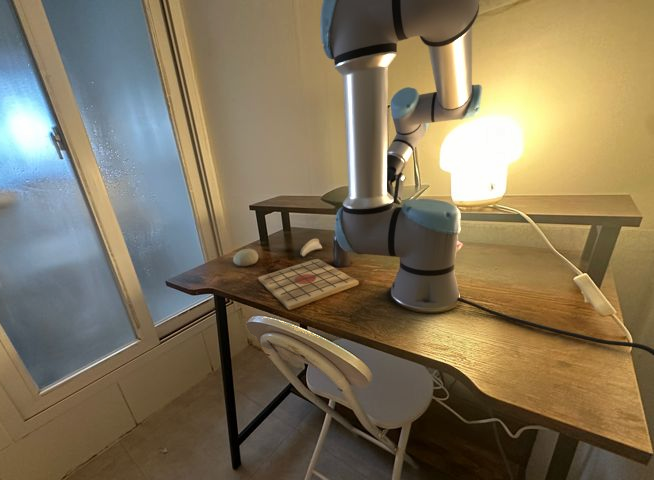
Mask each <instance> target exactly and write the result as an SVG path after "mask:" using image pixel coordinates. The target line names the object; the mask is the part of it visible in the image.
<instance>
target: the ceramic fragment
mask: <svg viewBox="0 0 654 480" xmlns="http://www.w3.org/2000/svg"><path fill="white" fill-rule="evenodd" d="M314 251H323V246H322V245H321V243H320V240H319V239H318V238H312V239H310V240H309V241H308V242H306V243H305V244H304V245H303V246H302V247H301V249H300V252H299V254H300V255H301V256H302V258H305V257H306V256H307V255H308V254H309V253H312V252H314Z"/></svg>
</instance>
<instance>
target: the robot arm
mask: <svg viewBox="0 0 654 480" xmlns="http://www.w3.org/2000/svg"><path fill="white" fill-rule="evenodd" d="M479 11H480V0H322V5H321V9H320V19H319V20H320V24H319V27H320V40H321V43H322V45H323V52H324V54H325V55H326V57H327V58H328V59H330V60H333V61H334V69H335V70H336V71H337V72H338V73H339V74H340V75H341V76H342V84H343V104H344V106H343V107H344V127H345V148H346V163H347V164H346V166H347V168H346V169H347V188H348V195H347V197H346V198H345V199H344V200H343V201H342V206H341V207H340V208H339V209H338V210H337V212H336V216H335V222H334V232H335V233H336V238H337V241H338V243H339V245H340V247H341V248H342V249H344V250H345V251H347V252H350V253H353V254H356V255H370V256H383V257H395V258H399V267H398V270H397V273H396V275H395V278H394V280H393V283H392V284H391V289H390V298H391V300H392V301H393V302H394V303H395V304H396V305H397V306H399V307H401V308H403V309H405V310H409V311H412V312H417V313H423V314H439V313H443V312H444V313H445V312H447V311H450V310H453V309H454V308H456V307H457V306H458V305H459V302H461V303H464V304H466V305H469V306H471V307H474V308H476V309H478V310H480V311H483V312H486V313H488V314H491V315H494V316H497V317H499V318H502V319H505V320H509V321H512V322H516V323H519V324H523V325H526V326H530V327H535V328H536V329H537V328H538V329H542V330H545V331H548V332H553V333H556V334H559V335H564V336H568V337H572V338H577V339H580V340H585V341H588V342H594V343H598V344H603V345H608V346H618V347H628V348H635V349H640V350H643V351H646V352H648V353H650V354H651V355H652V356H654V348H652V347H650V346H648V345H645V344H641V343H638V342H629V341H619V340H609V339H603V338H598V337H595V336H589V335H585V334H581V333H580V334H579V333H576V332H572V331H569V330H564V329H559V328H557V327H556V328H555V327H551V326H547V325H544V324H539V323H535V322H532V321H528V320H526V319H522V318H517V317H515V316H511V315H508V314H505V313H502V312H498V311H495V310H493V309H490V308H487V307H485V306H483V305H480V304H477V303H475V302H473V301H470V300H468V299H464V298H462V297H461V294H460V288H459V285H458V280H457V277H456V273H455V266H456V259H457V258H456V257H457V252H458V251H457V243H458V241H459V234H460V232H461V229H462V228H461V218H462V217H461V216H462V215H461V211H460V209H459V208H458V206H456V205H455V204H452V203H451V202H448V201H444V200H441V199H431V198H417V199H416V198H411V199H407V200H404V202H402V201H401V200H403V199H402V198H403V191H404V183H405V181H406V180H407V177H406V176H405V174H404V173H403V171H404V169H405V167H406V165H407V164H408V162H409V161H410V159H411V157H412V156H413V154H414V153H415V150H416V149H415V147H416V148H418V146H419V144H420V142H421V140H423V138H424V137H425V134H426V133H427V130H428V128H429V125H430V124H433V123H439V122H449V121H455V120H456V121H457V120H464V119H468V118H474V117H476V116H478V114H479V111H480V108H481V100H482V93H483V86H482V85H481V84H473V26H474V24H475V23H476V21H477V18H478V15H479ZM414 37H419V38H420V40H421V42H422V43H423V44H424V45H425V46H427V49H428V53H429V60H430V64H431V68H432V74H433V80H434V85H435V91H433V92H427V93H422V94H420V93H419V92H418V90H417V89H416V88H415V87H410V86H406V87H403V88H401V89H399V90H397V92H395V93H394V95H393V96H392V98H391V99H390V104H389V105H390V111H391V113H390V115H391V118H392V121H393V125H394V129H395V133H396V134H395V136H394V138H393V140H392V141H391V143H390V145H389V147H388V115H389V114H388V113H389V112H388V111H389V110H388V107H389V105H388V101H389V99H388V97H389V95H388V93H389V66H390V65H391V64H392V62H393V61H394V59H395V58H396V57H397V54H398V53H397V52H398V50H397V49H398V42H401V41H404V40H408V39H411V38H414ZM414 149H415V150H414ZM393 183H395V185H394V186H393ZM393 203H396V204H395V205H401V206H395V205H393ZM335 233H334V234H335ZM456 251H457V252H456Z"/></svg>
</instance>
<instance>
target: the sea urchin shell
mask: <svg viewBox="0 0 654 480" xmlns="http://www.w3.org/2000/svg"><path fill="white" fill-rule="evenodd" d="M258 260H259V254H258V252H257V251H256V250H255V249H254V248H243V249H241V250H239V251H237V252H236V253H235V254H234V255H233V258H232V262H233V263H234V265H236V266H238V267H245V268H246V267H249V266H252V265H254V264H256V263H257V262H258Z"/></svg>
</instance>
